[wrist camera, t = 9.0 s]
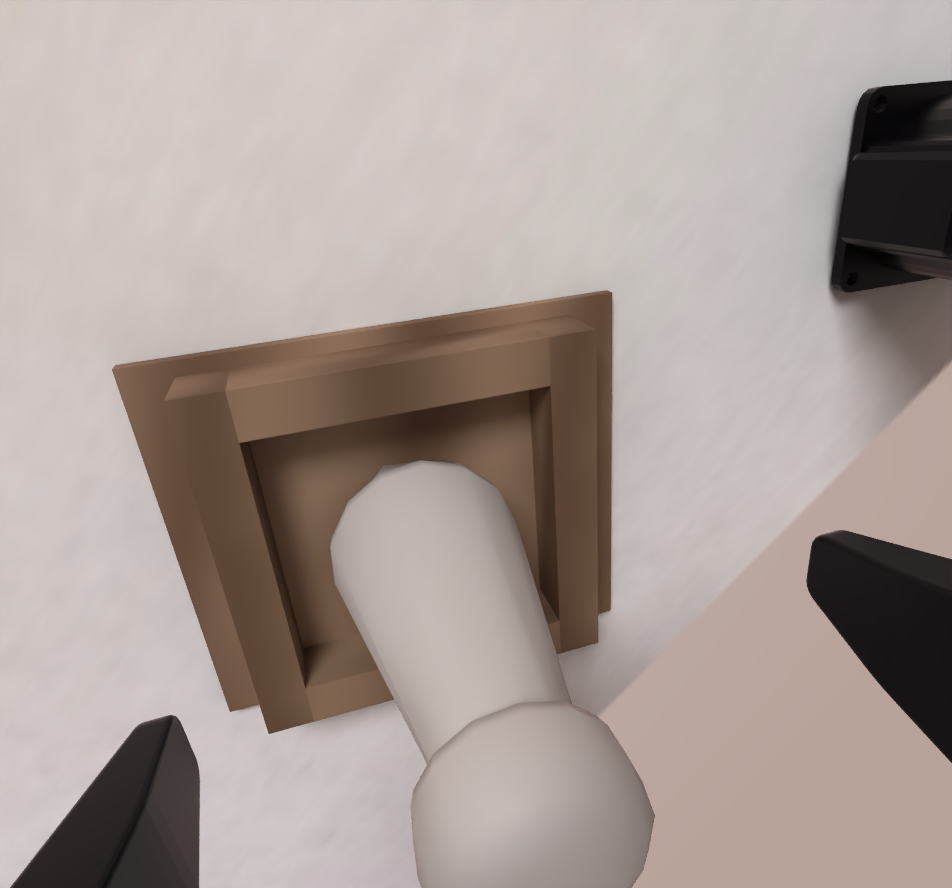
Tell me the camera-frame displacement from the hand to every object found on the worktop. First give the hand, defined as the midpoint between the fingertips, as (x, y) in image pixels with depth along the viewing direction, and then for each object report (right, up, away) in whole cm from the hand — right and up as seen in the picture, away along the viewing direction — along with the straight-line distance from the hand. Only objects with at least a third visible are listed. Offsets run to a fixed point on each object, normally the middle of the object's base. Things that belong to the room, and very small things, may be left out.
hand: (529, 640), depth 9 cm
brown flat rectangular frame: (-3, 0, +14) cm, 14 cm away
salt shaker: (-3, 0, +13) cm, 14 cm away
